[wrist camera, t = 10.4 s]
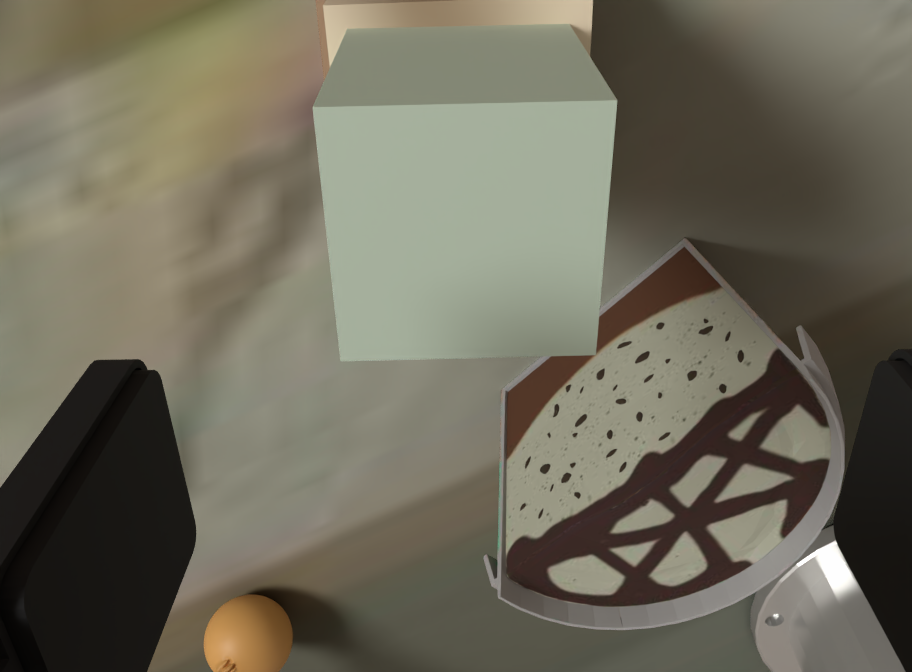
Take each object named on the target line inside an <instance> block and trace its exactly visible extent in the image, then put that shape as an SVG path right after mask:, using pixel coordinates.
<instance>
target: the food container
mask: <svg viewBox="0 0 912 672" xmlns="http://www.w3.org/2000/svg"><path fill="white" fill-rule="evenodd" d="M796 331H797V334H798V338H799V341H800V345H801V348H802V352H803V355H804V359H803V360H801V361H800V360H799V359H798V358H797V357H796V356H795V355H794V353H793V352H792V351H791V350H790V349H789V348H788V347H787V346H786V345H785V344H784V343H783V342H782V341H781V340H780V338H779V337H778V336H777V335H776V334H775V333H774V332H773V331H772V330H771V329H770V328H769V327H768V326H767V324H766V323H765V322H764V321H763V320H762V319H761V318H760V317H759V316H758V315H757V314H756V313H755V312H754V311H753V309H752V308H751V307H750V306H749V305H748V304H747V303H746V302H745V301H744V300H743V299H742V298H741V297H740V295H739V294H738V293H737V292H736V291H735V290H734V289H733V288H732V287H731V286H730V285H729V284H728V283H727V282H726V280H725V279H724V278H723V277H722V276H721V275H720V274H719V273H718V272H717V271H716V270H715V269H714V268H713V266H712V265H711V264H710V263H709V262H708V261H707V260H706V259H705V258H704V257H703V256H702V255H701V254H700V253H699V251H698V250H697V249H696V248H695V247H694V246H693V245H692V244H691V243H690V242H689V241H688V240H687V239H686V237H685V238H684V239H683V240H682V241H680V242H679V243H678V244H677V245H676V246H674V247H673V248H672V249H671V250H670V251H668V252H667V253H666V254H665V255H664V256H662V257H661V258H660V259H659V260H658V261H656V262H655V263H654V264H653V265H651V266H650V267H649V268H648V269H647V270H645V271H644V272H643V273H642V274H641V275H639V276H638V277H637V278H636V279H635V280H633V281H632V282H631V283H630V284H629V285H627V286H626V287H625V288H624V289H622V290H621V291H620V292H619V293H618V294H616V295H615V296H614V297H613V298H612V299H610V300H609V301H608V302H607V303H606V304H604V305H603V306H602V307H601V308H600V312H599V324H598V336H597V347H596V355H583V356H542V357H540V358H539V359H538V360H537V361H536V362H534V363H533V364H532V365H531V366H529V367H528V368H527V369H526V370H525V371H523V372H522V373H521V374H520V375H519V376H517V377H516V378H515V379H514V380H513V381H511V382H510V383H509V384H508V385H507V386H505V387H504V388H503V389H502V390H501V423H500V470H499V517H498V560H496V559H494V558H493V557H491V556H489V555H488V554H486V555H485V556H484V557H483V558H484V561H485V565H486V568H487V572H488V575H489V579H490V582H491V586H493V587H494V588H496V589H498V598H499V599H501V600H503V601H505V602H506V603H508V604H510V605H512V606H514V607H515V608H517V609H519V610H521V611H524V612H526V613H529V614H531V615H534V616H536V617H539V618H542V619H545V620H549V621H553V622H556V623H560V624H564V625H568V626H575V627H582V628H590V629H604V630H630V629H643V628H653V627H659V626H664V625H670V624H675V623H680V622H683V621H687V620H690V619H694V618H697V617H701V616H704V615H707V614H710V613H712V612H715V611H717V610H720V609H722V608H725V607H727V606H730V605H732V604H734V603H736V602H738V601H740V600H742V599H743V598H745V597H747V596H749V595H751V594H753V593H755V592H757V591H758V590H760V589H761V588H762V587H764V586H765V585H767V584H768V583H770V582H771V581H773V580H774V579H775V578H777V577H778V576H780V575H781V574H782V573H783V572H784V571H785V570H787V569H788V568H789V567H790V566H791V565H792V564H793V563H794V562H795V561H797V560H798V559H799V558H800V557H801V556H802V555H803V553H804V552H805V551H806V550H807V549H808V547H809V546H810V545H811V544H812V543H813V542H814V540H815V539H816V538H817V537H818V535H819V533H820V532H821V530H822V529H823V527H824V525H825V524H826V522H827V521H828V519H829V517H830V516H831V513H832V511H833V508H834V506H835V503H836V501H837V498H838V496H839V493H840V489H841V484H842V479H843V474H844V469H845V467H844V455H845V427H844V423H843V419H842V414H841V410H840V406H839V402H838V399H837V395H836V392H835V389H834V386H833V383H832V379H831V376H830V373H829V370H828V368H827V366H826V364H825V362H824V359H823V357H822V355H821V353H820V351H819V349H818V347H817V345H816V344H815V343H814V341H813V340H812V339H811V337H810V336H809V335H808V334H807V332H806V331H805V330H804V328H803V327H802V326H801V325H800V326H798V327H796Z"/></svg>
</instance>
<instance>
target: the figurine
mask: <svg viewBox="0 0 912 672" xmlns="http://www.w3.org/2000/svg"><path fill="white" fill-rule="evenodd" d="M292 642H293V631H292V626H291V622H290V620H289V617H288V615H287V614H286V612H285V611H284V609H283V608H282V607H281V606H280V605H279V604H278V603H276V602H275V601H273V600H272V599H270V598H267V597H265V596H261V595H243V596H239V597H236V598H234V599H232V600H230V601H228V602H226V603H225V604H224V605H222V606H221V607H220V608H219V609H218V610H217V611H216V612H215V614H214V615H213V616H212V618H211V620H210V622H209V624H208V626H207V629H206V632H205V637H204V651H205V656H206V659H207V662H208V664H209V666H210V668H211V669H212V670H213V672H278V671H279V670H280V669H281V668H282V667H283V665H284V664H285V662H286V661H287V659H288V657H289V654H290V651H291V648H292Z"/></svg>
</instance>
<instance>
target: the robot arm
mask: <svg viewBox="0 0 912 672" xmlns="http://www.w3.org/2000/svg"><path fill="white" fill-rule="evenodd" d="M195 542H196V524H195V519H194V515H193V511H192V507H191V502H190V498H189V494H188V490H187V485H186V481H185V477H184V473H183V468H182V464H181V460H180V456H179V452H178V447H177V443H176V439H175V435H174V430H173V426H172V422H171V418H170V414H169V409H168V405H167V401H166V397H165V392H164V388H163V384H162V380H161V377H160V375H159V373H158V372H157V371H155V370H147V367H146V366H145V364H144V362H143V361H141V360H139V359H133V360H96V361H94V362H93V363H92V364H90V366H89V367H88V368H87V370H86V371H85V372H84V374H83V375H82V377H81V378H80V379H79V381H78V382H77V383H76V385H75V386H74V388H73V389H72V390H71V392H70V393H69V394H68V396H67V397H66V399H65V400H64V401H63V403H62V404H61V405H60V407H59V408H58V410H57V411H56V412H55V414H54V415H53V416H52V418H51V419H50V421H49V422H48V423H47V425H46V426H45V427H44V429H43V430H42V431H41V433H40V434H39V436H38V437H37V438H36V440H35V441H34V442H33V444H32V445H31V447H30V448H29V449H28V451H27V452H26V453H25V455H24V456H23V458H22V459H21V460H20V462H19V463H18V464H17V466H16V467H15V469H14V470H13V471H12V473H11V474H10V475H9V477H8V478H7V479H6V481H5V482H4V484H3V485H2V486H1V488H0V672H147V670H148V667H149V665H150V662H151V660H152V657H153V654H154V652H155V649H156V647H157V644H158V642H159V639H160V636H161V634H162V631H163V629H164V626H165V623H166V621H167V618H168V616H169V613H170V611H171V608H172V605H173V603H174V600H175V598H176V595H177V592H178V590H179V587H180V585H181V582H182V580H183V577H184V574H185V572H186V569H187V567H188V564H189V561H190V559H191V556H192V554H193V551H194V547H195ZM750 627H751V631H752V634H753V638H754V641H755V644H756V646H757V649H758V651H759V653H760V655H761V658H762V660H763V662H764V663H765V664H766V665H767V666H768V668H769V669H770V670H771V671H772V672H912V349H898V350H896V351H894V352H893V353H892V354H891V356H890V357H889V359H888V361H881V362H879V363H878V365H877V366H876V368H875V371H874V374H873V377H872V381H871V385H870V388H869V392H868V395H867V399H866V403H865V406H864V410H863V414H862V417H861V421H860V425H859V428H858V432H857V435H856V439H855V443H854V446H853V450H852V454H851V457H850V461H849V465H848V468H847V472H846V475H845V479H844V483H843V486H842V490H841V494H840V497H839V501H838V505H837V508H836V512H835V516H834V525H832V526H830V527H828V528H825V529H823V530H821V532H820V533H819V535H818V537H817V538H816V539H815V540H814V542H813V543H812V544H811V545H810V546H809V547H808V549H807V550H806V551H805V552H804V553H803V555H802V556H801V557H800V558H799V559H798V560H797V561H795V562H794V563H793V564H792V565H791V566H790V567H789V568H788V569H787V570H785V571H784V572H783V573H782V574H781V575H780V576H778V577H777V578H775V579H774V580H773V581H771V582H770V583H768V584H767V585H765V586H764V587H762V588H761V589H760V590H758V591H757V592H756V595H755V598H754V601H753V604H752V607H751V617H750Z"/></svg>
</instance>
